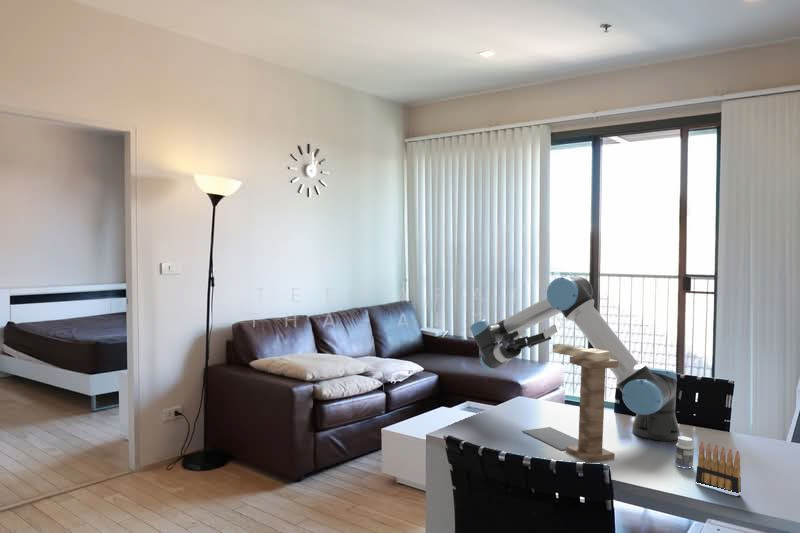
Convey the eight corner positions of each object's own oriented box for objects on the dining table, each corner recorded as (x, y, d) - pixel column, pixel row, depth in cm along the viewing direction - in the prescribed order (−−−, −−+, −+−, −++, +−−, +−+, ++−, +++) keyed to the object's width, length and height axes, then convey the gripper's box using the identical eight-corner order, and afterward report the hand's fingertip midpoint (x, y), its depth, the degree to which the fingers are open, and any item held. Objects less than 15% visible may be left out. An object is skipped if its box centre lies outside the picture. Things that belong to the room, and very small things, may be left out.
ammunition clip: (740, 496, 149) (742, 450, 149) (738, 497, 148) (740, 452, 148) (698, 482, 157) (699, 439, 157) (695, 484, 156) (697, 440, 156)
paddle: (548, 352, 184) (549, 345, 184) (561, 350, 188) (561, 343, 188) (597, 361, 171) (597, 353, 171) (609, 359, 175) (609, 351, 175)
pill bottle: (672, 462, 172) (673, 435, 172) (688, 463, 172) (689, 435, 171) (679, 468, 167) (680, 440, 167) (695, 469, 167) (697, 441, 167)
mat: (522, 431, 198) (522, 430, 198) (549, 428, 203) (550, 426, 203) (561, 450, 180) (561, 449, 180) (590, 446, 185) (590, 445, 185)
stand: (566, 451, 179) (569, 356, 178) (590, 447, 183) (594, 354, 182) (589, 462, 170) (593, 362, 169) (614, 458, 174) (618, 360, 173)
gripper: (537, 357, 220) (571, 337, 203) (482, 360, 209) (513, 340, 192) (531, 339, 223) (564, 318, 206) (477, 341, 212) (507, 319, 195)
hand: (540, 328), depth 199 cm, fingers open, 13 cm apart
